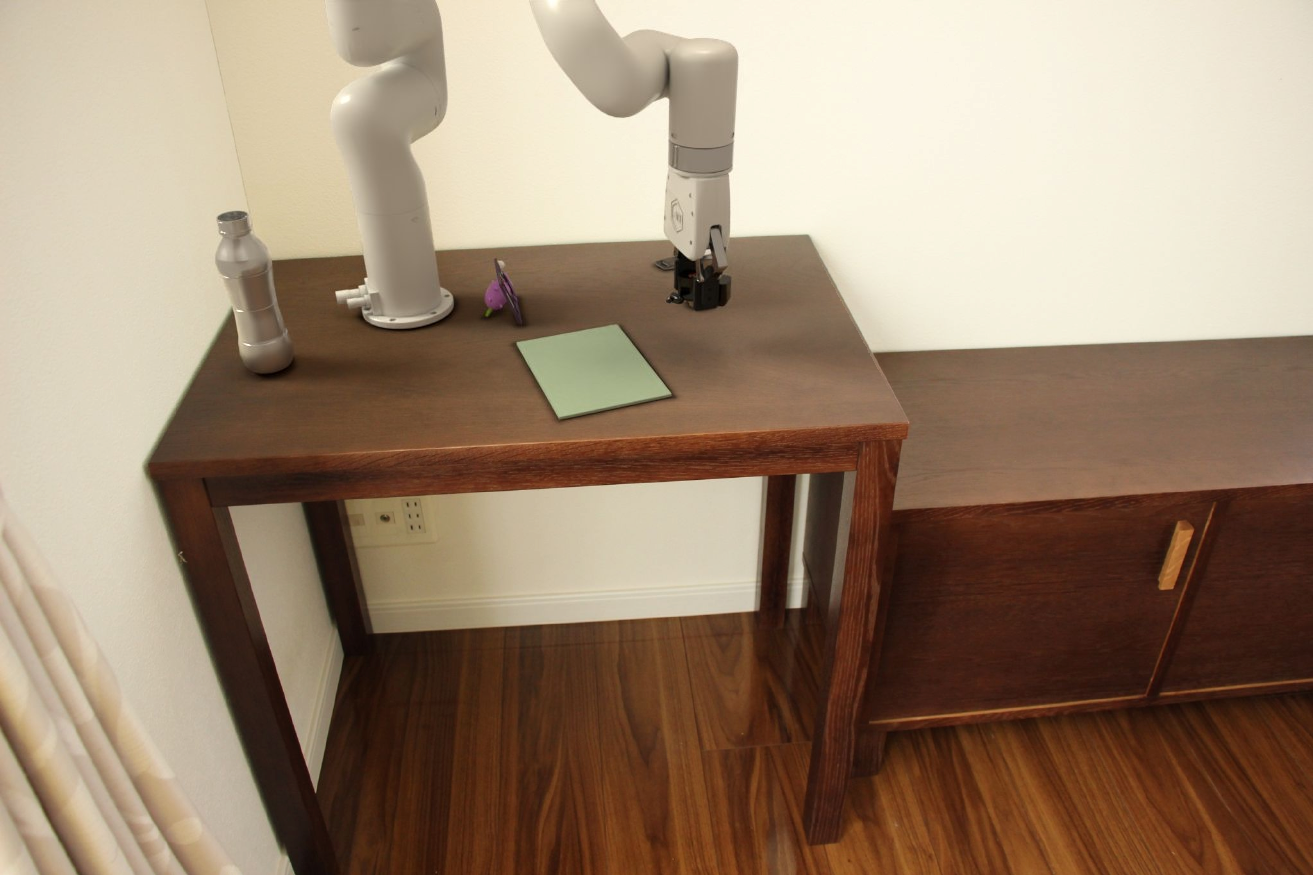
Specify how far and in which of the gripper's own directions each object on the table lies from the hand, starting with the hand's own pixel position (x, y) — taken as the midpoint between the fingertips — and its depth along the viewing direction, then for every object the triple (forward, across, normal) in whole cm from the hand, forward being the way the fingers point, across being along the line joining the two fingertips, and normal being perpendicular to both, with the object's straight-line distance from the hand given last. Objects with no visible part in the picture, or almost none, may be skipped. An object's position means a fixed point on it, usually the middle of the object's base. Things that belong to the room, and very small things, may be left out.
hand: (695, 297), depth 123 cm
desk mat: (+8, 0, -14) cm, 16 cm away
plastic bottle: (+9, -16, -51) cm, 55 cm away
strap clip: (+8, -28, +10) cm, 30 cm away
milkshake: (+8, -12, +7) cm, 16 cm away
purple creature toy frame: (+9, -20, -20) cm, 30 cm away
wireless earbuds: (+1, 0, 0) cm, 1 cm away
